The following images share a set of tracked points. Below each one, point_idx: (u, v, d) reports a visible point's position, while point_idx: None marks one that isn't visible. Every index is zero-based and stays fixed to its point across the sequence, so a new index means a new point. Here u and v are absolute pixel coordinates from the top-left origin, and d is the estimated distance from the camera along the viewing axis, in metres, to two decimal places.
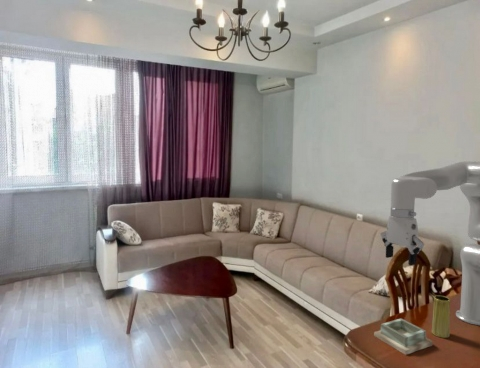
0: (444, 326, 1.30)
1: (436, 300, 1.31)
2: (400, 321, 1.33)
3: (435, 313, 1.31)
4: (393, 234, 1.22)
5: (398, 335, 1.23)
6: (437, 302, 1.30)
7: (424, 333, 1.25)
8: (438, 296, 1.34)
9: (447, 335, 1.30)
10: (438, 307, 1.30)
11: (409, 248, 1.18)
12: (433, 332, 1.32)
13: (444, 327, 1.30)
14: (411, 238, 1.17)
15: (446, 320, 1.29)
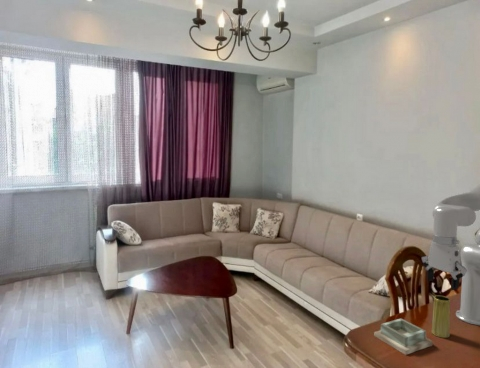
0: (444, 326, 1.30)
1: (436, 300, 1.31)
2: (400, 321, 1.33)
3: (435, 313, 1.31)
4: (435, 259, 1.30)
5: (398, 335, 1.23)
6: (437, 302, 1.30)
7: (424, 333, 1.25)
8: (438, 296, 1.34)
9: (447, 335, 1.30)
10: (438, 307, 1.30)
11: (452, 273, 1.26)
12: (433, 332, 1.32)
13: (444, 327, 1.30)
14: (454, 264, 1.25)
15: (446, 320, 1.29)
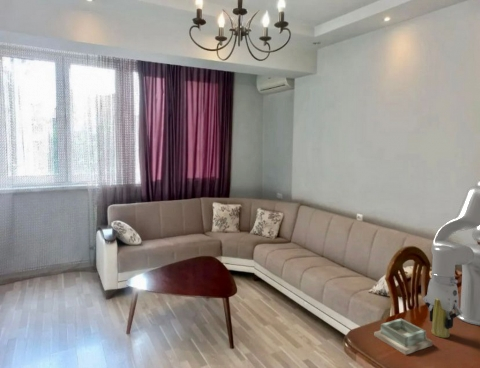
0: (444, 326, 1.30)
1: (436, 300, 1.31)
2: (400, 321, 1.33)
3: (435, 313, 1.31)
4: (434, 297, 1.32)
5: (398, 335, 1.23)
6: (437, 302, 1.30)
7: (424, 333, 1.25)
8: None
9: (447, 335, 1.30)
10: (438, 307, 1.30)
11: (447, 313, 1.28)
12: (433, 332, 1.32)
13: (444, 327, 1.30)
14: (452, 306, 1.27)
15: None
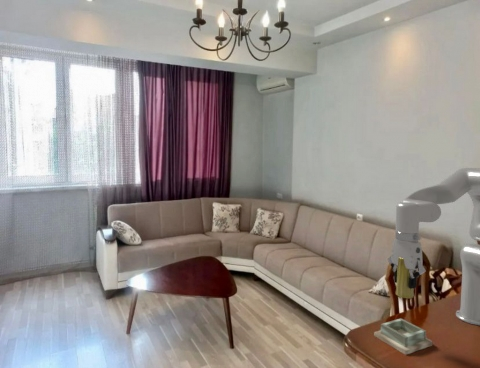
0: (407, 286, 1.24)
1: (399, 259, 1.25)
2: (400, 321, 1.33)
3: (399, 273, 1.25)
4: (397, 256, 1.26)
5: (398, 335, 1.23)
6: (400, 261, 1.25)
7: (424, 333, 1.25)
8: None
9: (411, 295, 1.24)
10: (402, 266, 1.24)
11: (410, 272, 1.22)
12: (397, 293, 1.26)
13: (407, 287, 1.24)
14: (415, 264, 1.21)
15: None
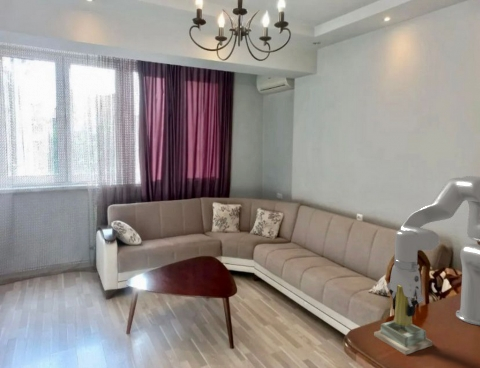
0: (406, 313, 1.25)
1: (398, 287, 1.26)
2: None
3: (397, 300, 1.26)
4: (396, 284, 1.27)
5: (398, 335, 1.23)
6: (399, 289, 1.25)
7: (424, 333, 1.25)
8: None
9: (409, 323, 1.25)
10: (400, 294, 1.25)
11: (409, 300, 1.23)
12: (395, 320, 1.27)
13: (406, 315, 1.25)
14: (414, 293, 1.21)
15: None
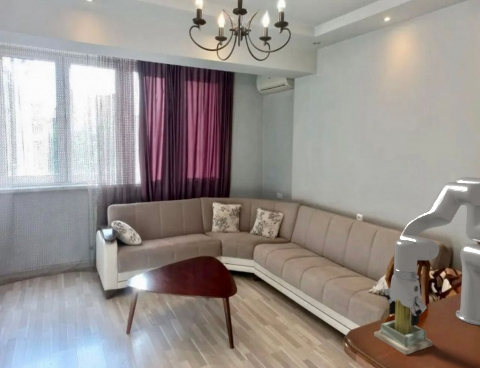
0: (405, 327, 1.25)
1: (397, 300, 1.27)
2: None
3: (396, 314, 1.27)
4: (396, 293, 1.27)
5: (398, 335, 1.23)
6: (398, 302, 1.26)
7: (424, 333, 1.25)
8: None
9: None
10: (399, 307, 1.26)
11: (412, 309, 1.22)
12: None
13: (405, 329, 1.25)
14: (414, 300, 1.22)
15: (407, 321, 1.25)
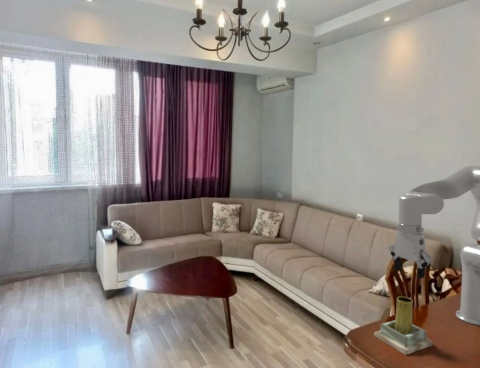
0: (406, 328, 1.25)
1: (398, 301, 1.26)
2: None
3: (397, 315, 1.27)
4: (401, 248, 1.27)
5: (398, 335, 1.23)
6: (399, 303, 1.26)
7: (424, 333, 1.25)
8: (401, 297, 1.29)
9: None
10: (400, 308, 1.26)
11: (417, 262, 1.23)
12: None
13: (406, 329, 1.25)
14: (419, 253, 1.22)
15: (408, 322, 1.25)
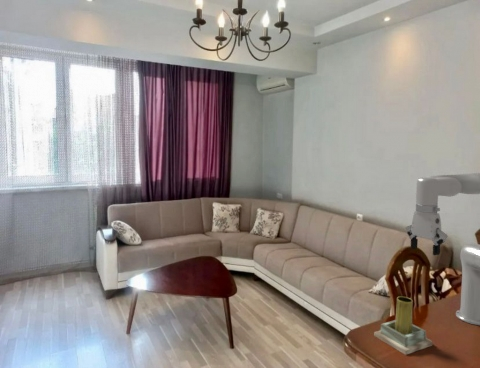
0: (406, 328, 1.25)
1: (398, 301, 1.26)
2: None
3: (397, 315, 1.27)
4: (418, 228, 1.37)
5: (398, 335, 1.23)
6: (399, 303, 1.26)
7: (424, 333, 1.25)
8: (401, 297, 1.29)
9: None
10: (400, 308, 1.26)
11: (433, 240, 1.32)
12: None
13: (406, 329, 1.25)
14: (435, 231, 1.31)
15: (408, 322, 1.25)
